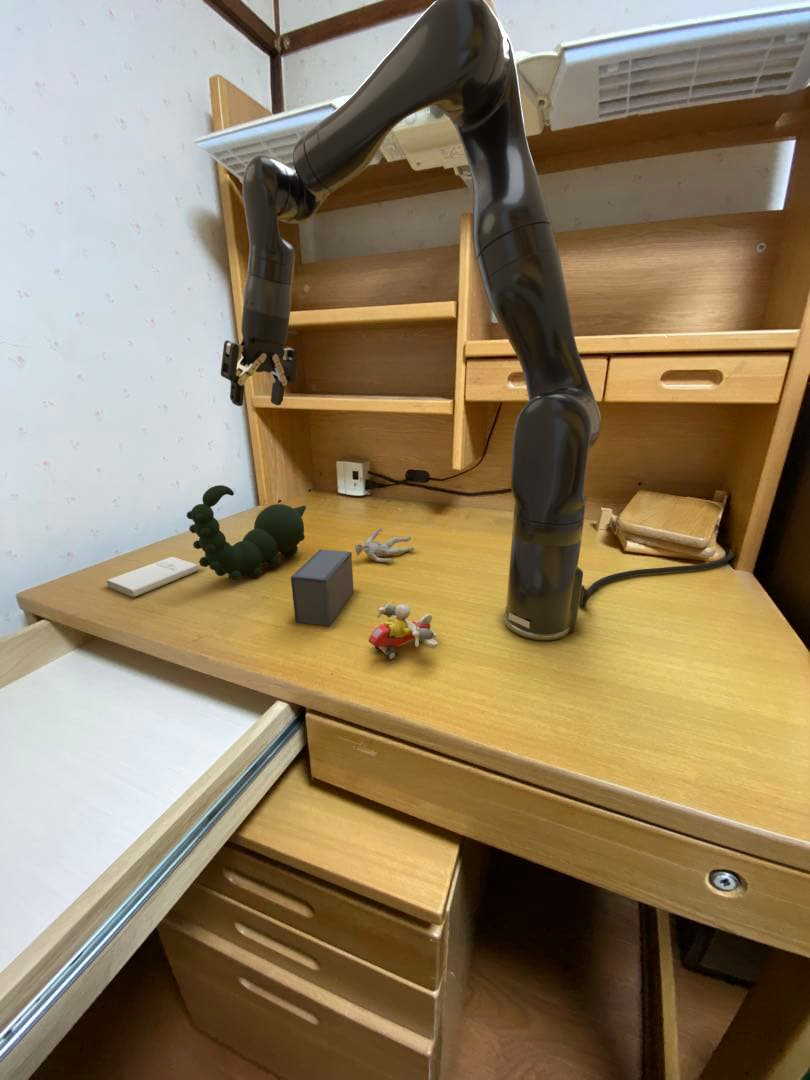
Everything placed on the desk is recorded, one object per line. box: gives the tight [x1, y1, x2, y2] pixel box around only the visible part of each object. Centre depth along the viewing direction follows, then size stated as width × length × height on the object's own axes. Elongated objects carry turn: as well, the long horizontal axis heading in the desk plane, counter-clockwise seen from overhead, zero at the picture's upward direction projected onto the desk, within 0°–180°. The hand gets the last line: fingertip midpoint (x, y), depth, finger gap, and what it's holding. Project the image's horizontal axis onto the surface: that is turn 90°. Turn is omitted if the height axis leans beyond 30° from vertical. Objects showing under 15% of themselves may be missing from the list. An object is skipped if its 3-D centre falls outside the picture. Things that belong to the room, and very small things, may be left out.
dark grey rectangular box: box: [290, 549, 355, 627], centre depth 73 cm, size 11×6×8 cm, turn 167°
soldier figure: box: [354, 526, 415, 563], centre depth 92 cm, size 8×5×12 cm
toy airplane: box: [368, 602, 439, 661], centre depth 63 cm, size 9×9×6 cm
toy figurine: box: [186, 484, 307, 582], centre depth 86 cm, size 9×19×25 cm
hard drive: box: [106, 556, 199, 598], centre depth 84 cm, size 2×8×12 cm
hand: (257, 404), depth 85 cm, fingers open, 8 cm apart
